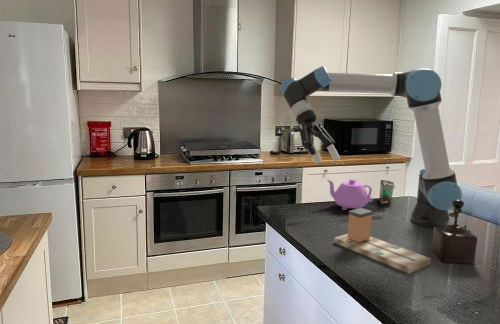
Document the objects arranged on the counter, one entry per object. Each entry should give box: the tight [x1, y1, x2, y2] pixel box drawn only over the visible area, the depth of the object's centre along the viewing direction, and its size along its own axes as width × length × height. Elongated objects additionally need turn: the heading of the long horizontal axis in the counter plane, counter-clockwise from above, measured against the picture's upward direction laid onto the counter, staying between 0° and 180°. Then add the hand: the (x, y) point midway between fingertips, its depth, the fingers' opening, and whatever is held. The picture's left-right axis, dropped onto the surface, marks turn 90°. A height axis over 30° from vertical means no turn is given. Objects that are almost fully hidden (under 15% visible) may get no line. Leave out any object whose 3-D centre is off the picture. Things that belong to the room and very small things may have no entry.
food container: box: [379, 179, 396, 205], centre depth 200 cm, size 12×6×10 cm, turn 168°
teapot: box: [326, 178, 374, 211], centre depth 189 cm, size 22×16×14 cm
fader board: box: [334, 233, 432, 275], centre depth 138 cm, size 30×12×2 cm, turn 37°
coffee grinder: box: [431, 199, 478, 265], centre depth 137 cm, size 16×11×18 cm
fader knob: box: [347, 207, 373, 242], centre depth 144 cm, size 5×7×10 cm
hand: (328, 161), depth 152 cm, fingers open, 13 cm apart
